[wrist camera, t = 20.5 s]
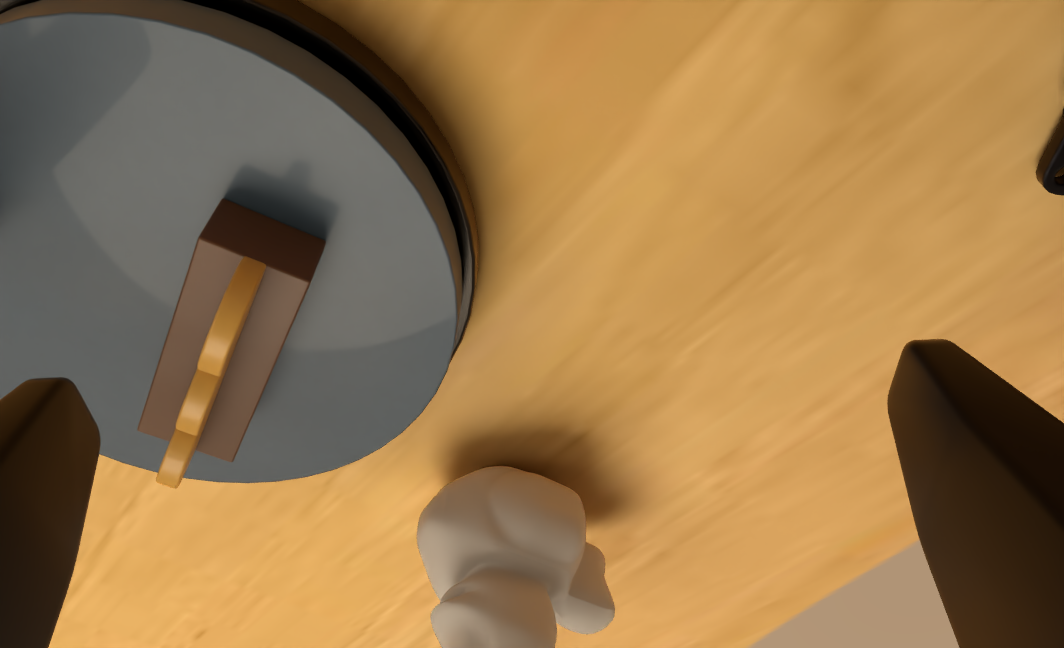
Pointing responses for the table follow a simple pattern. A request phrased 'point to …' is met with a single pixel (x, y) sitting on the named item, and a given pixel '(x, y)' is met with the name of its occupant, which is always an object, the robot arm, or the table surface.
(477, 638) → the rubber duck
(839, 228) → the table surface
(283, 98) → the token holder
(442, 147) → the turntable base
